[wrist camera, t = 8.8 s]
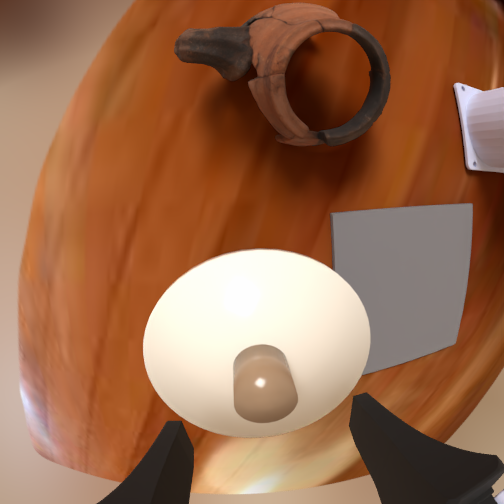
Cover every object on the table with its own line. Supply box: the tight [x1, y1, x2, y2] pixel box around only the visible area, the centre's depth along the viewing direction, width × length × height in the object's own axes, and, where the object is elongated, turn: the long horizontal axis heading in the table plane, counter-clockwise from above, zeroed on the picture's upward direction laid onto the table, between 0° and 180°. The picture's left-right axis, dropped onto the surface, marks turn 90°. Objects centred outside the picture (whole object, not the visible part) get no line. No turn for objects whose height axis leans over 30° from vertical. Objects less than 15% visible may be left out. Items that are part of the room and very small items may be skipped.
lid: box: [143, 248, 370, 438], centre depth 14 cm, size 13×13×4 cm
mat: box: [330, 203, 473, 375], centre depth 20 cm, size 14×14×1 cm
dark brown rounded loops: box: [174, 3, 391, 146], centre depth 14 cm, size 12×10×8 cm
